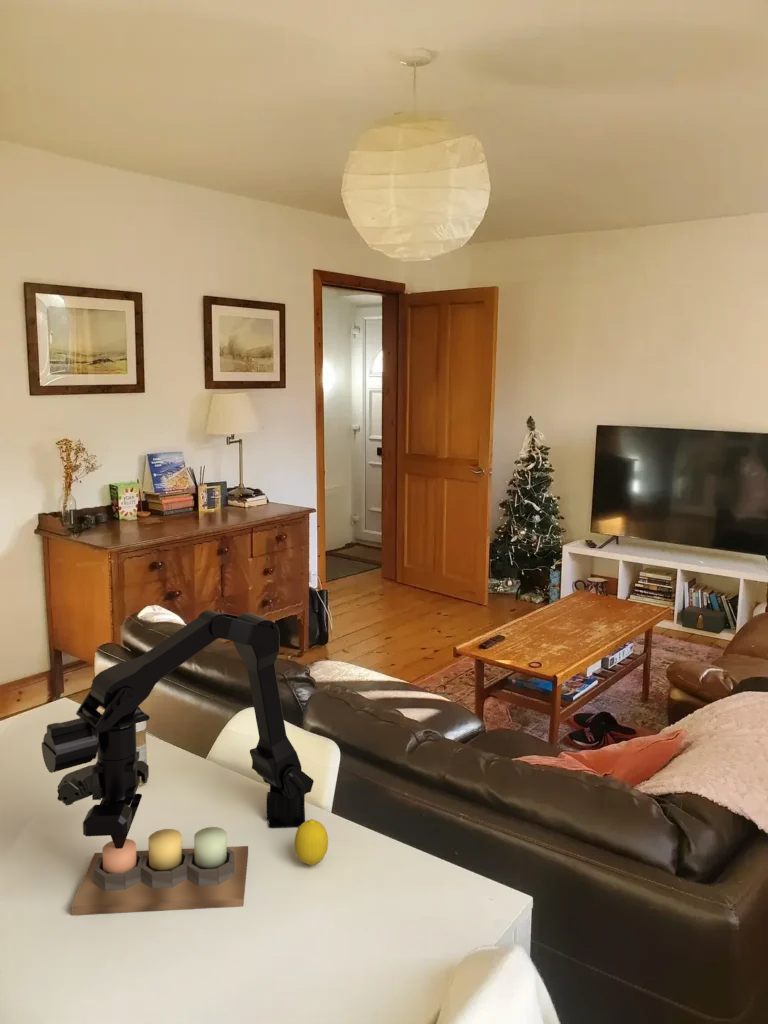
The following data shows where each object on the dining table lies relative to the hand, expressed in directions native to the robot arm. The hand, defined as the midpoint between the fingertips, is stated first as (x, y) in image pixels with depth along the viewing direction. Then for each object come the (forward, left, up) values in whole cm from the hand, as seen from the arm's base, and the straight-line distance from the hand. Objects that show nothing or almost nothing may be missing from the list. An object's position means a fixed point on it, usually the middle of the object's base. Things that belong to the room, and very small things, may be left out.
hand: (119, 847), depth 124 cm
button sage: (-14, 0, -3) cm, 14 cm away
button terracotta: (0, 0, -4) cm, 4 cm away
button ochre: (-7, 0, -3) cm, 7 cm away
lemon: (-30, -3, -7) cm, 31 cm away
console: (-7, 0, -6) cm, 9 cm away
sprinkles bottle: (+4, -34, -7) cm, 35 cm away
